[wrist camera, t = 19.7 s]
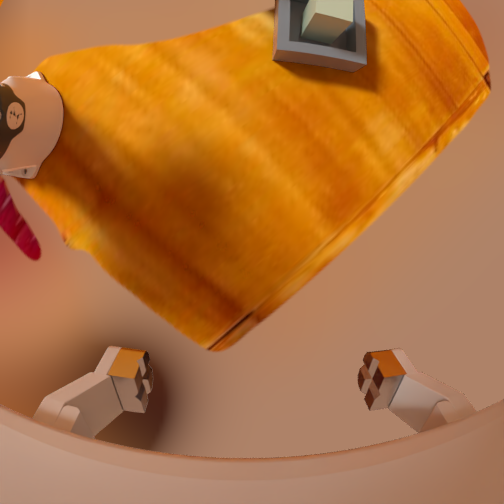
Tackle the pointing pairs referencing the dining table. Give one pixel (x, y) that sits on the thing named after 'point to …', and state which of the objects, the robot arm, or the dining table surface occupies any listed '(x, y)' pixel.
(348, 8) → the sage block
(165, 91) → the dining table surface
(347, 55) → the gray open box
